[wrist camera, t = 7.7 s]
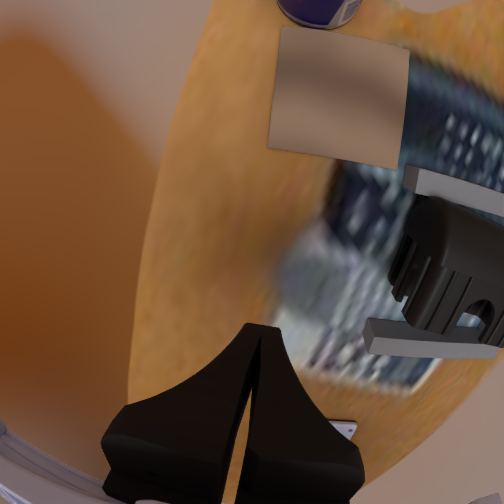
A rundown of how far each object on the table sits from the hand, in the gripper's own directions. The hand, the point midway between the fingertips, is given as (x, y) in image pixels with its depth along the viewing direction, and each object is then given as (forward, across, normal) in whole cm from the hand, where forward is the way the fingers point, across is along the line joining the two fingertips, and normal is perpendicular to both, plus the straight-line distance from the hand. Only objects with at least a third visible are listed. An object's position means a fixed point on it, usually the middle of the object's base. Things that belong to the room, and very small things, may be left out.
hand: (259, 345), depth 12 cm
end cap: (+11, -13, -2) cm, 17 cm away
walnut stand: (+10, -2, -11) cm, 15 cm away
